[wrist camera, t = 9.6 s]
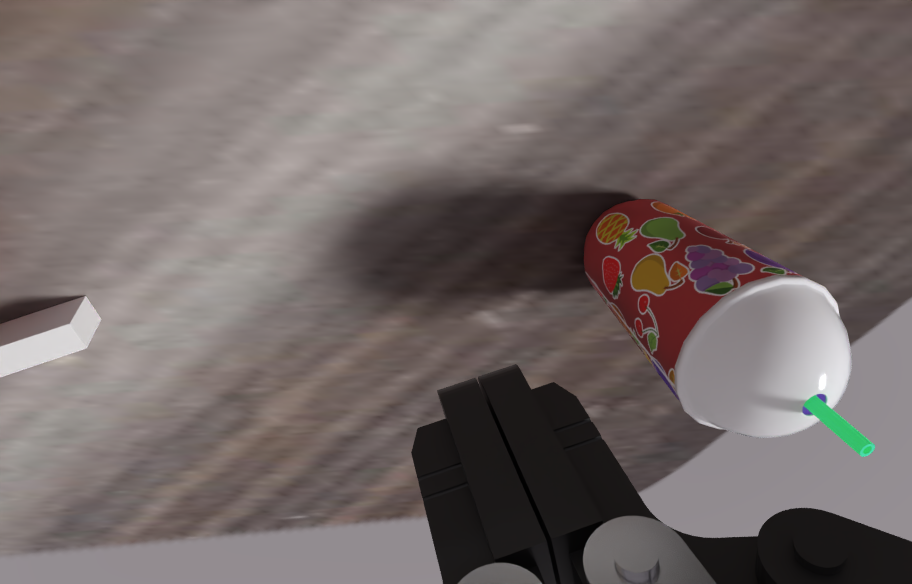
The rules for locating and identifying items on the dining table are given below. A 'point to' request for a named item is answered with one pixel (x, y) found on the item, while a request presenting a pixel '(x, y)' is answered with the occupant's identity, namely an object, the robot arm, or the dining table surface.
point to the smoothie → (723, 323)
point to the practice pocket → (46, 335)
